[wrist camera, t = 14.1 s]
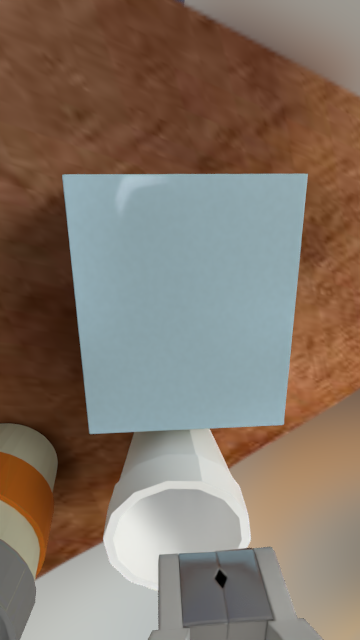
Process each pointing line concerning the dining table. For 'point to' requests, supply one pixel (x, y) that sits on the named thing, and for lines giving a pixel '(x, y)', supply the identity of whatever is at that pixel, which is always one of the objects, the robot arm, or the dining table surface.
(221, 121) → the dining table surface
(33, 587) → the reusable coffee cup
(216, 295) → the hatch
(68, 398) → the dining table surface
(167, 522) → the foam cup
